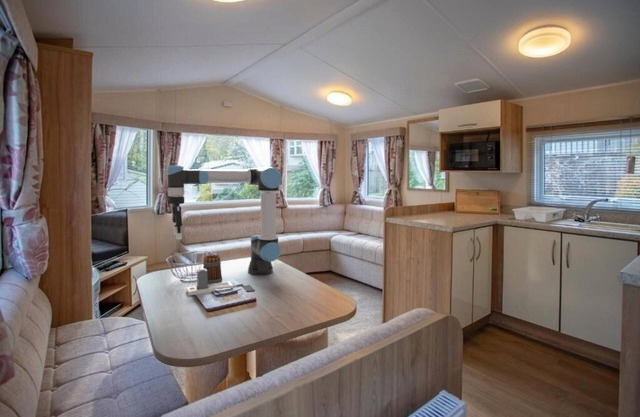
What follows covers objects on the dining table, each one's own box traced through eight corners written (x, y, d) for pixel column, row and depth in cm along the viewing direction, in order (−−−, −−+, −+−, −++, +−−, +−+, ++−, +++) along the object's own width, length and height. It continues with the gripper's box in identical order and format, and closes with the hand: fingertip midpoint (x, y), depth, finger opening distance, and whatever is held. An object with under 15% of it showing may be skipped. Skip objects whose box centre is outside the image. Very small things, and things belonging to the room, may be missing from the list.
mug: (218, 286, 190) (218, 259, 188) (199, 285, 190) (199, 258, 188) (227, 277, 205) (226, 252, 204) (209, 277, 206) (208, 252, 204)
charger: (206, 289, 182) (205, 267, 181) (207, 291, 179) (207, 269, 177) (197, 290, 180) (196, 268, 179) (198, 293, 176) (198, 270, 175)
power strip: (241, 285, 192) (241, 278, 192) (244, 289, 186) (244, 282, 186) (186, 292, 179) (186, 286, 179) (188, 297, 173) (188, 290, 173)
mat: (249, 285, 192) (249, 284, 192) (254, 291, 184) (254, 289, 184) (233, 288, 188) (233, 287, 187) (237, 293, 180) (237, 292, 180)
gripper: (166, 194, 188) (167, 233, 190) (170, 198, 166) (172, 242, 168) (181, 194, 191) (182, 232, 194) (187, 197, 169) (188, 240, 172)
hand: (177, 237), depth 181 cm, fingers open, 13 cm apart
